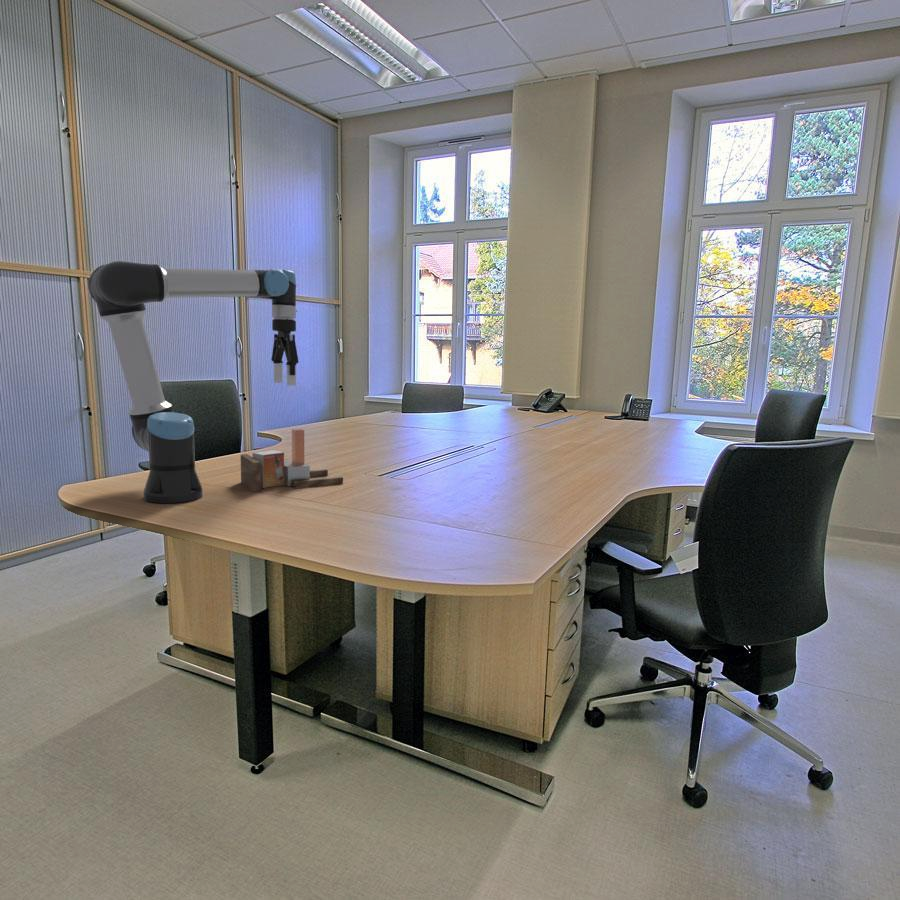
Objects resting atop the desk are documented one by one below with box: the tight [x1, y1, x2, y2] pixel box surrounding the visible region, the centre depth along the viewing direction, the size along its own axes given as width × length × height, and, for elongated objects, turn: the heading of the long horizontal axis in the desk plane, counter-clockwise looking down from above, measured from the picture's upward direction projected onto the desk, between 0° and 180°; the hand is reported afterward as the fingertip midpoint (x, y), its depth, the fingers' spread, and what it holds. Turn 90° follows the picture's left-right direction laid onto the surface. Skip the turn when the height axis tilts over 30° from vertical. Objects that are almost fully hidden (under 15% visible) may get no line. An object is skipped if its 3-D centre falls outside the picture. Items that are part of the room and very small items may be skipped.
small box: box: [252, 449, 285, 489], centre depth 188 cm, size 8×6×10 cm
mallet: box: [284, 428, 311, 487], centre depth 192 cm, size 7×10×17 cm
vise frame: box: [240, 453, 344, 493], centre depth 192 cm, size 28×15×9 cm, turn 123°
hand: (284, 384), depth 201 cm, fingers open, 13 cm apart
